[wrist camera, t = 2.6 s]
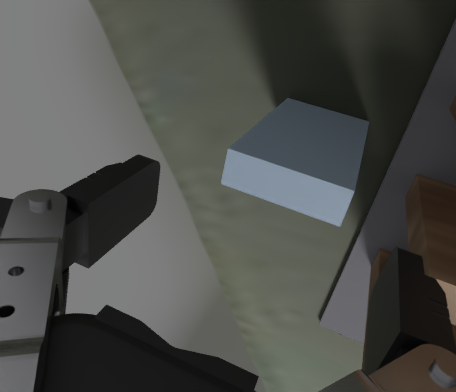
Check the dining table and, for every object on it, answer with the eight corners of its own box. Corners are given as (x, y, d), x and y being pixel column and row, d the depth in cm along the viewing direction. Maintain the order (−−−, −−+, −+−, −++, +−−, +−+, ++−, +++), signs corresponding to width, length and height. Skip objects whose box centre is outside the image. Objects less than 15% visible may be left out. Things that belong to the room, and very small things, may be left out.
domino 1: (287, 97, 23) (228, 148, 15) (369, 121, 22) (354, 191, 14) (280, 122, 24) (220, 183, 16) (359, 146, 23) (340, 226, 14)
